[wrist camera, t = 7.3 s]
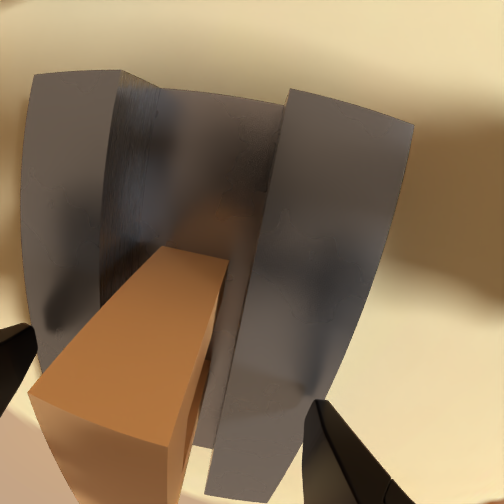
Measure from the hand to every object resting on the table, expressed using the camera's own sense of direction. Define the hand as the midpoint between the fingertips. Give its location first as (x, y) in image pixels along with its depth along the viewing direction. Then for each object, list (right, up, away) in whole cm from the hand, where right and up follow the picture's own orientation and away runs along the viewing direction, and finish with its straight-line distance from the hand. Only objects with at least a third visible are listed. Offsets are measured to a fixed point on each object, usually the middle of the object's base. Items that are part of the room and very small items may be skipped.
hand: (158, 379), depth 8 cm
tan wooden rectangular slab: (0, +1, +3) cm, 4 cm away
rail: (0, +1, +4) cm, 4 cm away
